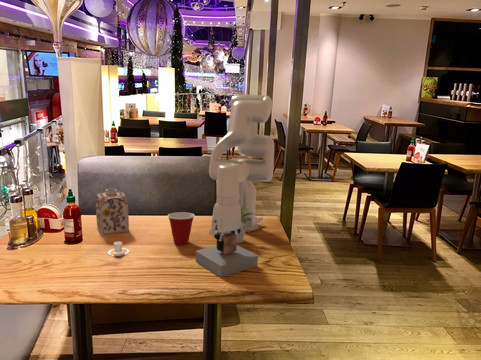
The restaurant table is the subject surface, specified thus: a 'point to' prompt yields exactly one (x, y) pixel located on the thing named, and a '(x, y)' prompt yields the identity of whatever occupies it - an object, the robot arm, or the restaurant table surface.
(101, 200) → the decorative jar
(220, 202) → the robot arm
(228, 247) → the walnut block
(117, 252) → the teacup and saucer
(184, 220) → the plastic cup
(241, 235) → the house plant
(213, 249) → the grey square slab
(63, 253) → the restaurant table surface
